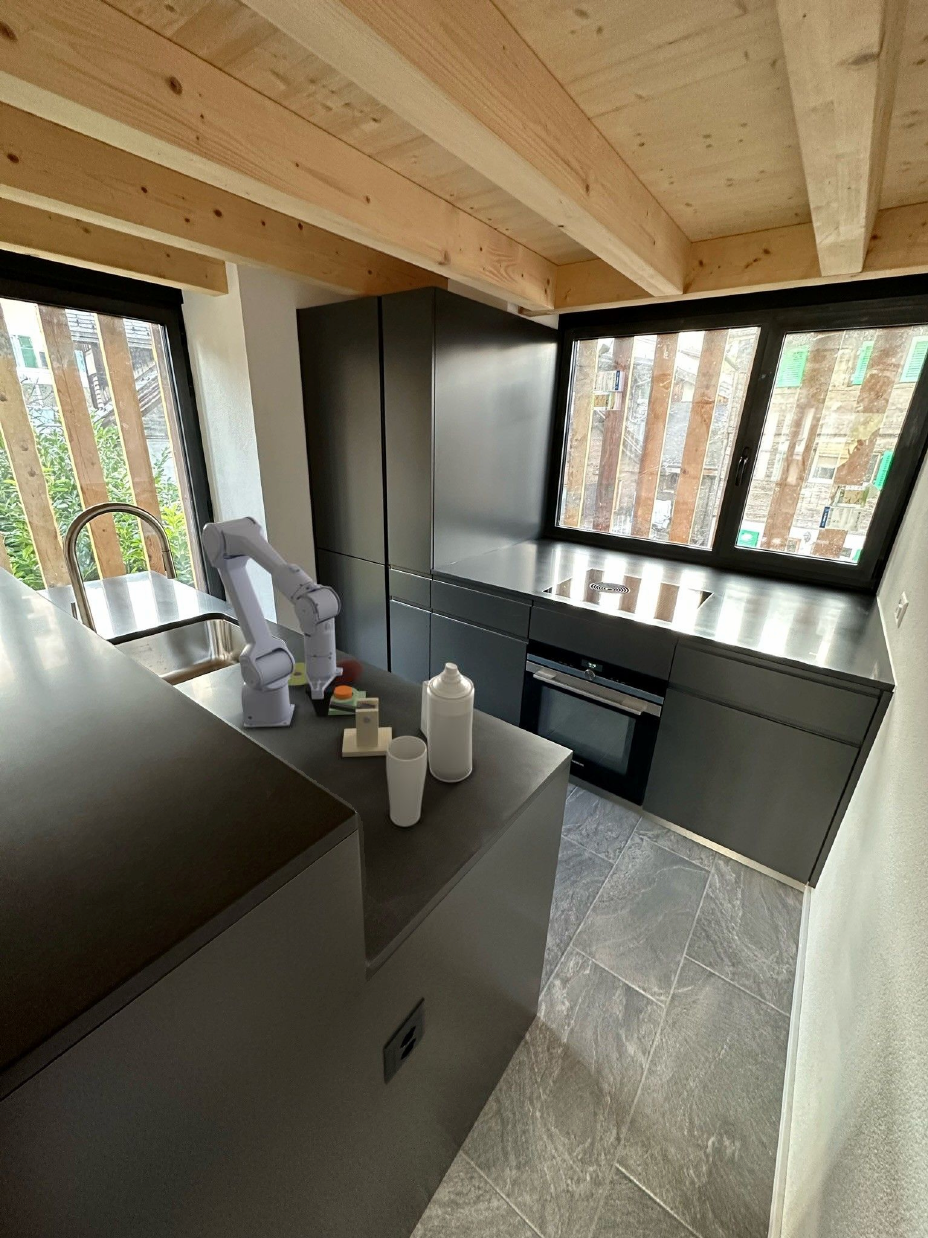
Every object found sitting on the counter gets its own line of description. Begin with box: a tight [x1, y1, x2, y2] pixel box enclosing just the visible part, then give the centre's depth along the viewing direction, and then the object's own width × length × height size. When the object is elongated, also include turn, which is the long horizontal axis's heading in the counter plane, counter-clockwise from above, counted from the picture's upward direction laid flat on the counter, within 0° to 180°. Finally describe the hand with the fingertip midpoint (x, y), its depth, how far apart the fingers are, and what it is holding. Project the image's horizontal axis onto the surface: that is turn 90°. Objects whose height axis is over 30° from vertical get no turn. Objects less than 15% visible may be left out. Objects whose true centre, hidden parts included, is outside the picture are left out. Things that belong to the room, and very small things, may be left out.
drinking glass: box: [385, 735, 428, 828], centre depth 88 cm, size 7×7×15 cm
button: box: [334, 686, 352, 700], centre depth 120 cm, size 4×4×2 cm
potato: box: [333, 658, 363, 687], centre depth 129 cm, size 7×10×6 cm
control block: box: [328, 686, 367, 716], centre depth 120 cm, size 10×8×3 cm
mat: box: [288, 662, 309, 686], centre depth 130 cm, size 11×11×2 cm
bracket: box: [341, 697, 393, 758], centre depth 106 cm, size 10×8×10 cm
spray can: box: [426, 662, 475, 783], centre depth 97 cm, size 12×11×25 cm
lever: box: [329, 700, 376, 713], centre depth 104 cm, size 12×3×3 cm, turn 100°
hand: (323, 710), depth 103 cm, fingers closed on lever, 3 cm apart
